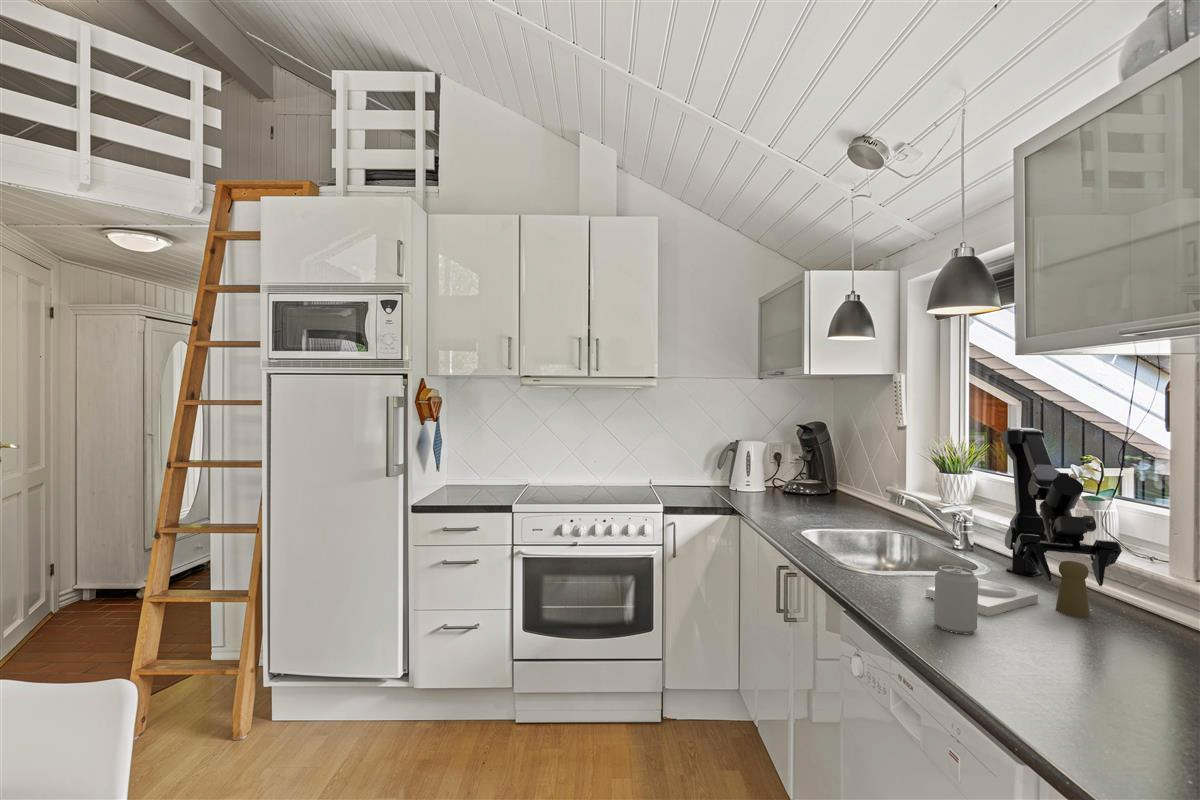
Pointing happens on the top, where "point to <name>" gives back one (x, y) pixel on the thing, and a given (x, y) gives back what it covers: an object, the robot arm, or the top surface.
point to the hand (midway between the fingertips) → (1075, 582)
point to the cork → (1073, 590)
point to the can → (956, 599)
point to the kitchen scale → (997, 597)
